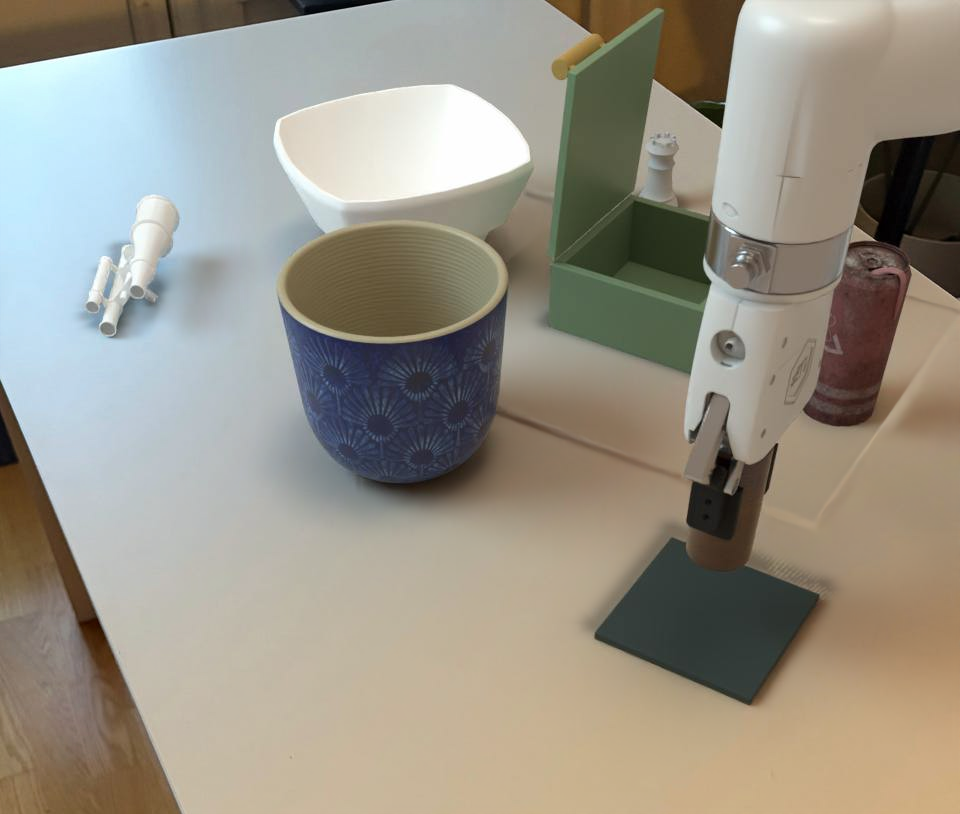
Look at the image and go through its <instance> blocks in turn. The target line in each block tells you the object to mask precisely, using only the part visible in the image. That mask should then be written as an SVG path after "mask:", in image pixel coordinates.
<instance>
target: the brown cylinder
mask: <svg viewBox="0 0 960 814" xmlns="http://www.w3.org/2000/svg"><path fill="white" fill-rule="evenodd" d="M725 436H727V437H728V434H727V432H726V433H725ZM773 450H774V446H773V448H772V449H771V450H770V451H769V452H768V454H767V455H766V456H765V457H764V458H763V459H761V460H760V461H758V462H756V463H754V464H751V465H748V464H744V468H743V471H742V475H741V478H740V482H739V485H738V486H740V487H742V488H744V490H743V495H742V500H741V505H740V510H739V515H738V521H737V526H736V531H735V534H734V536H733V537H732V538H731V540H729V541H726V540H723V539H720V538H718V537H715V536H713V535H710V534H707V533H705V532H702V531H700V530H697V529H694V528H692V527H690V526H688V529H687V531H688V532H687V537H686V541H685V542H686V550H687V553H688V555H689V557H690V558H691V559H692V560H693V561H694V562H695V563H696V564H698V565H699V566H701V567H703V568H706V569H709V570H714V571H731V570H735V569H738V568H740V567H742V566H743V565H745V566H746V564H747V563H748V562H749V561H750V559H751V557H752V553H753V549H754V544H755V539H756V536H757V535H756V534H757V530H758V525H759V522H760V521H759V520H760V516H761V511H762V506H763V501H764V496H765V495H764V493H765V488H766V483H767V478H768V474H769V469H770V464H771V460H772V455H773ZM731 460H732V456H730V455H727V454H724V453H721V452H718V454H717V457H716V461H715V464H716V465H719V466H722V467H724V468H725V469H726V470H727V471H729V467H730V463H731Z"/></svg>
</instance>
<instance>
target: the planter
mask: <svg viewBox="0 0 960 814" xmlns="http://www.w3.org/2000/svg"><path fill="white" fill-rule="evenodd" d="M508 292H509V271H508V268H507V266H506V263H505V261H504V260H503V258H502V256H501V255H500V254H499V252H498V251H496V249H494V247H493V246H491V245H490V244H489V243H487V242H486V241H483V240H481V239H479V238H478V237H476V236H474V235H472V234H470V233H467V232H465V231H462V230H459V229H457V228H453V227H450V226H446V225H442V224H437V223H431V222H423V221H411V220H388V221H376V222H368V223H362V224H357V225H352V226H348V227H345V228H341V229H338V230H335V231H332V232H329V233H327V234H326V233H324V234H322V235H320V236H318V237H316V238H314V239H312V240H310V241H309V242H307V243H306V244H304V245H303V246H301V247H300V248H298V249H297V250H296V251H294V252H293V254H291V255H290V256H289V257H288V259H287V260H286V261H285V262H284V264H283V266H282V267H281V269H280V271H279V272H278V276H277V280H276V296H277V300H278V304H279V308H280V314H281V317H282V322H283V325H284V330H285V334H286V339H287V344H288V348H289V351H290V356H291V361H292V365H293V368H294V373H295V378H296V382H297V385H298V391H299V394H300V395H299V396H300V400H301V404H302V407H303V410H304V414H305V415H306V419H307V422H308V425H309V426H310V428H311V430H312V432H313V434H314V436H315V438H316V439H317V441H318V442H319V444H320V446H322V447H323V450H325V452H326V454H328V455H329V456H330V457H331V458H332V459H333V460H334V461H336V462H337V463H338V464H340V466H342V467H344V468H345V469H347V470H349V471H350V472H352V473H354V474H356V475H358V476H359V477H363V478H366V479H369V480H372V481H375V482H381V483H390V484H411V483H420V482H424V481H429V480H432V479H436V478H439V477H441V476H443V475H446V474H448V473H450V472H452V471H454V470H455V469H456V468H458V467H460V466H461V465H463V464H464V463H465V462H466V461H467V460H468V459H470V458H471V457H472V456H473V455H474V454H475V453H476V452H477V450H479V448H480V447H481V445H482V444H483V442H484V441H485V439H486V437H487V435H488V433H489V432H490V429H491V427H492V424H493V421H494V419H495V415H496V412H497V408H498V403H499V398H500V391H501V389H500V388H501V379H502V366H503V353H504V340H505V330H506V329H505V328H506V317H507V305H508Z"/></svg>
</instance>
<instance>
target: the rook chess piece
mask: <svg viewBox="0 0 960 814" xmlns="http://www.w3.org/2000/svg"><path fill="white" fill-rule="evenodd" d="M661 135H662V133H661V131H658V132H655V133H654V134H651V135H650V139H649V141H648V142H647V144H646V145H645V151H646V152H647V153H648V155H649V157H648V159H647V161H646V165H647V173H646V178H645V183H644V185H643V188H642V190H641V191H640V193H639V195H638V196H639V197H642V198H646V199H650V200H653V201H657V202H660V203H664V204H667V205H671V206H674V207H678V208H679V203H678V199H677V197H676V192H675V191H674V189H673V171H674V169H673V168H674V167H675V165H676V161H675V160H674V157H675V155H676V154H677V153H678V152H679V150H680V146H679V144H678V143H677V136H676V135H675V134H671V132H667V131H664V135H663V136H661ZM670 135H671V136H670Z"/></svg>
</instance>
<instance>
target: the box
mask: <svg viewBox="0 0 960 814" xmlns="http://www.w3.org/2000/svg"><path fill="white" fill-rule="evenodd" d="M709 217H710V215H706V214H702V213H699V212H696V211H693V210H688V209H685V208H681V207H679V206H678V207H674V206H671V205H667V204H664V203H660V202H657V201H653V200H650V199H646V198H642V197H639V195H636V194H635V195H634V194H632V193H631V194H630V195H628V196H627V197H626V198H625V199H624V200H623V201H622V202H620V203H619V204H618V205H617V206H616V207H615V208H614V209H612V210H611V211H610V212H609V213H608V214H607V215H606V216H604V217H603V218H602V219H601V220H600V221H599V222H598V223H596V224H595V225H594V226H593V227H592V228H591V229H590V230H588V231H587V232H586V233H585V234H584V235H583V236H582V237H580V238H579V239H578V240H577V241H576V242H575V243H574V244H573V245H571V246H570V247H569V248H568V249H567V250H566V251H565V252H563V253H562V254H561V255H560V256H559V257H558V258H557V259H555V260H553V262H552V263H550V270H549V271H550V273H549V302H548V328H551V329H555V330H557V331H560V332H562V333H566V334H569V335H571V336H575V337H578V338H581V339H584V340H587V341H590V342H593V343H596V344H599V345H602V346H605V347H608V348H611V349H614V350H618V351H620V352H623V353H626V354H629V355H633V356H635V357H638V358H641V359H644V360H647V361H650V362H653V363H656V364H659V365H662V366H666V367H667V368H672V369H674V370H677V371H680V372H683V373H687V374H689V375H691V371H692V366H693V361H694V356H695V351H696V346H697V341H698V336H699V332H700V327H701V323H702V318H703V314H704V310H705V306H706V302H707V298H708V294H709V290H710V286H711V283H712V281H711V280H710V279H709V278H708V276H707V275H706V273H705V271H704V266H703V260H704V254H705V246H706V239H707V231H708V224H709Z"/></svg>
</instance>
